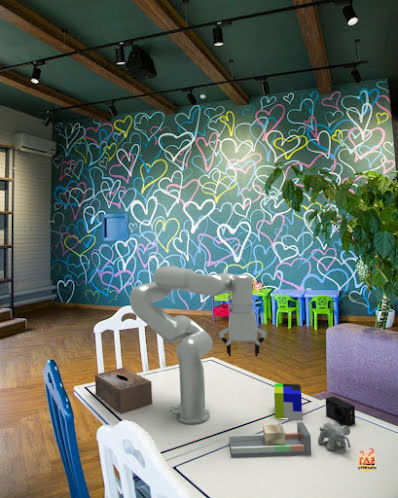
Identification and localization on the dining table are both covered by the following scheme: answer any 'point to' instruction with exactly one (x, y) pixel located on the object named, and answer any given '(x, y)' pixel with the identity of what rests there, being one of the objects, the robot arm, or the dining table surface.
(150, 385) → the tissue box cover
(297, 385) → the puzzle toy
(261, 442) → the grey metal rail
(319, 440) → the elephant statuette
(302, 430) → the grey angled bar
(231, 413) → the dining table surface
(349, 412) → the digital camera
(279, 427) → the beige rectangular block
